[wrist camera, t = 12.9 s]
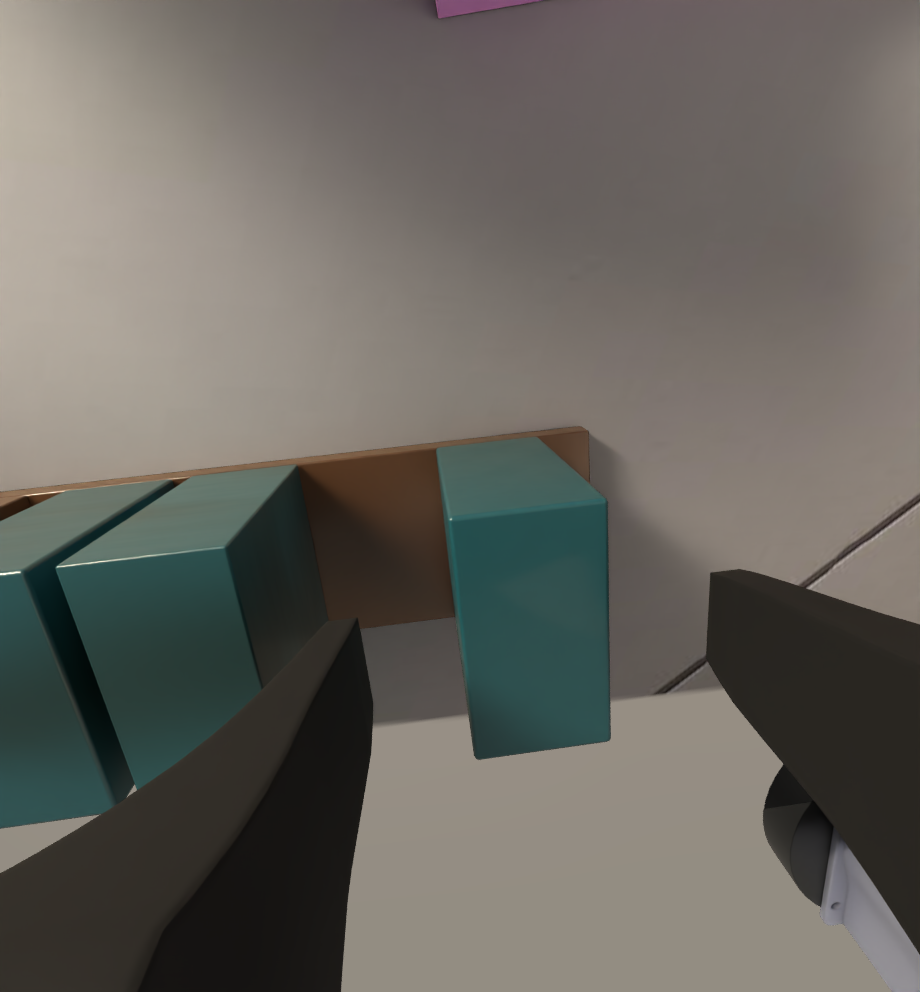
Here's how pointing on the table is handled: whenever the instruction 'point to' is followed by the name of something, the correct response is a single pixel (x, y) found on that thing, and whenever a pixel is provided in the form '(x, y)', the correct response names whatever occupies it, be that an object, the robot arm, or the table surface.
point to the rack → (197, 603)
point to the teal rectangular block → (528, 595)
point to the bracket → (473, 6)
